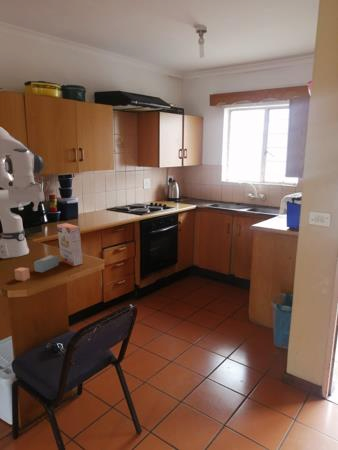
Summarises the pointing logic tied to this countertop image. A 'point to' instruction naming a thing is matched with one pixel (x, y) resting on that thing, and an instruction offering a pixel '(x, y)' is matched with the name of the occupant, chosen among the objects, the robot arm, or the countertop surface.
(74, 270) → the countertop surface
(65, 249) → the cracker box
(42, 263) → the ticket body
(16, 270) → the block
